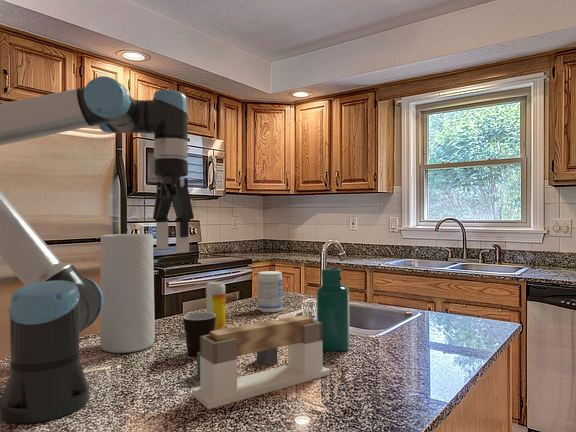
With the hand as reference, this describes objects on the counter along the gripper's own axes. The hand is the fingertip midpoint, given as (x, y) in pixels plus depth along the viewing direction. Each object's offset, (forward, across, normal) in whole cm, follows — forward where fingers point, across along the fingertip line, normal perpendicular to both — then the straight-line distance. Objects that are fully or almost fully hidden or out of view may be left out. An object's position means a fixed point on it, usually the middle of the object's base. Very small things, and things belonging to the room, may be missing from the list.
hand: (172, 250), depth 100 cm
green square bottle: (+29, -7, -43) cm, 52 cm away
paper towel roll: (+29, +28, +3) cm, 40 cm away
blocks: (+29, -6, -14) cm, 32 cm away
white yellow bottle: (+29, +30, -25) cm, 49 cm away
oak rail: (+21, -18, -14) cm, 31 cm away
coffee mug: (+29, +11, -12) cm, 33 cm away
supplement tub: (+29, +43, -54) cm, 75 cm away
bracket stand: (+29, -18, -14) cm, 37 cm away
